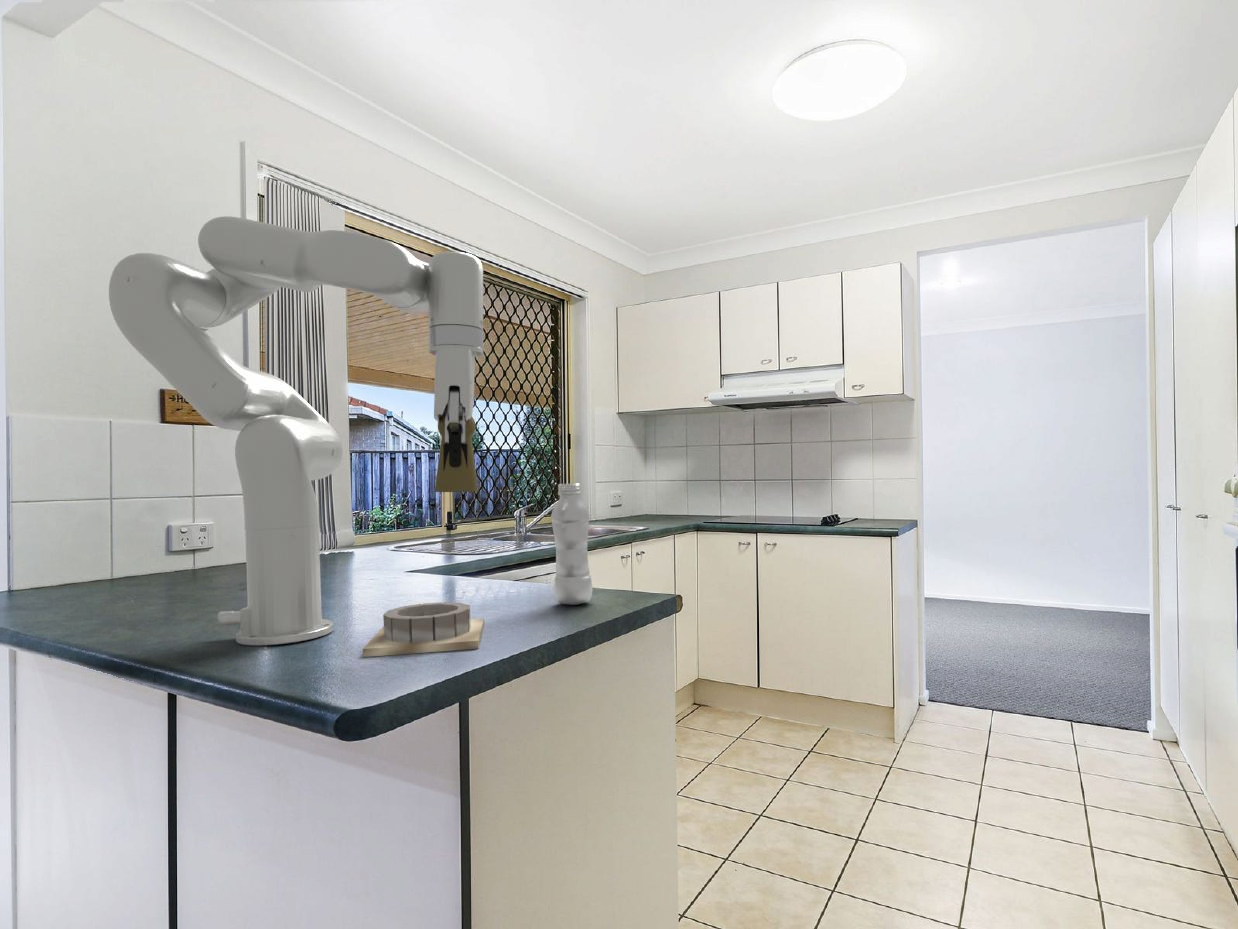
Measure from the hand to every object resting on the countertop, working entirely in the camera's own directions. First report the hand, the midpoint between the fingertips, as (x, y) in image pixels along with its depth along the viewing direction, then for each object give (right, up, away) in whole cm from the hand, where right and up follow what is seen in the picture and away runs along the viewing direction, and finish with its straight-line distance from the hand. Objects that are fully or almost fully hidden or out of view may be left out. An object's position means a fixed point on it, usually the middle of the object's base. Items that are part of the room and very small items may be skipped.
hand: (456, 471), depth 98 cm
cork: (0, -3, 0) cm, 3 cm away
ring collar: (-3, -23, -5) cm, 23 cm away
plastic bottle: (+15, -22, +17) cm, 32 cm away
